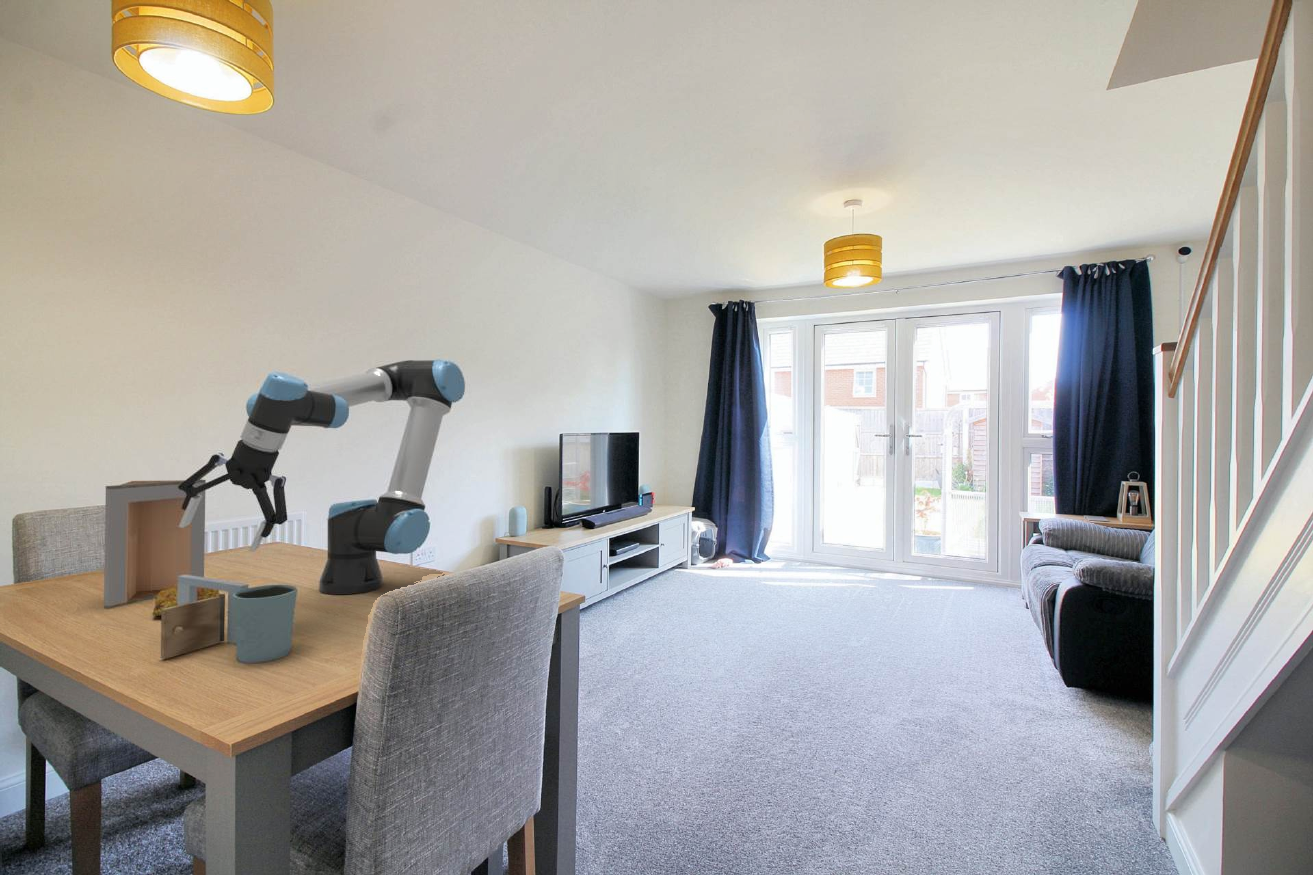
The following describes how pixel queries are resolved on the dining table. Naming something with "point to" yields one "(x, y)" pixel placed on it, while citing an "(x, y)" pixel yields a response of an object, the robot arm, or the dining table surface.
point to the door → (192, 626)
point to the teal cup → (264, 622)
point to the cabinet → (149, 540)
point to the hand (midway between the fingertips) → (219, 537)
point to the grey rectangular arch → (190, 584)
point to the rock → (170, 597)
